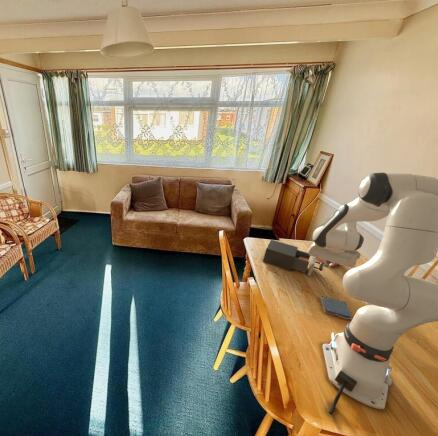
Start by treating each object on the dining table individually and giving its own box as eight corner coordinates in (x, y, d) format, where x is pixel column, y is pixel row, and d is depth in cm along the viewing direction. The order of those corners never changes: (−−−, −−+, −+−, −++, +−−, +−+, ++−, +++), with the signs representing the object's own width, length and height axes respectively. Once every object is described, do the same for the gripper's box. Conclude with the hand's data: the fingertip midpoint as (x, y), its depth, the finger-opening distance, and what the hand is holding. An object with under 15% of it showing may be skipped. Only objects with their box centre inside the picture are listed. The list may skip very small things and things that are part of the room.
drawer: (320, 268, 131) (325, 257, 127) (319, 278, 122) (324, 267, 119) (286, 257, 140) (289, 246, 137) (282, 266, 132) (286, 255, 129)
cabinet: (293, 260, 139) (298, 247, 135) (290, 271, 130) (294, 257, 126) (267, 252, 147) (271, 239, 143) (262, 261, 138) (266, 248, 134)
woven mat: (345, 304, 108) (346, 301, 107) (352, 321, 99) (354, 318, 98) (318, 297, 111) (320, 294, 111) (323, 313, 103) (325, 310, 102)
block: (305, 269, 128) (307, 262, 126) (296, 266, 131) (298, 259, 129) (306, 265, 131) (308, 258, 130) (297, 262, 134) (299, 256, 132)
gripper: (361, 249, 114) (351, 271, 120) (313, 236, 125) (305, 257, 131) (362, 255, 110) (351, 277, 116) (311, 241, 121) (304, 262, 127)
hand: (326, 266), depth 124 cm, fingers closed
